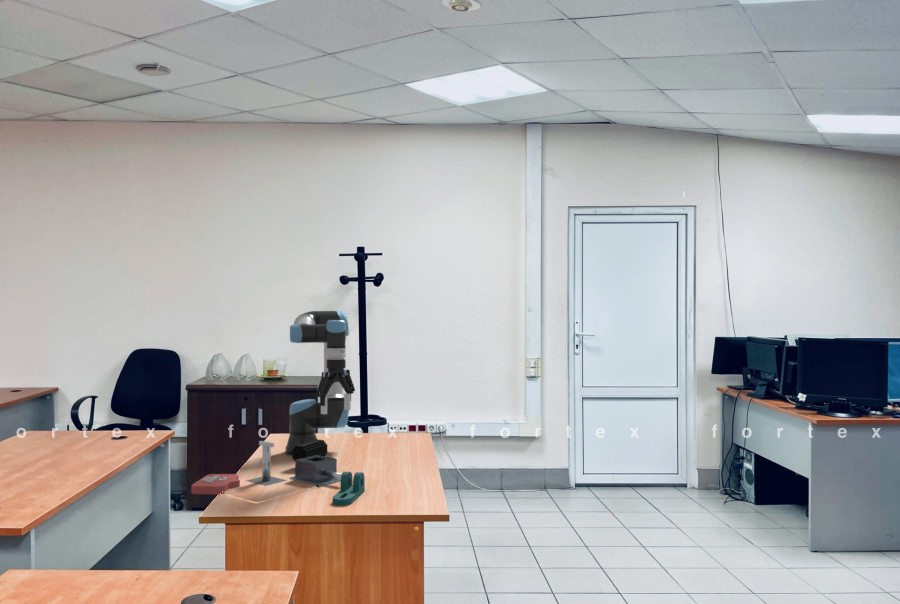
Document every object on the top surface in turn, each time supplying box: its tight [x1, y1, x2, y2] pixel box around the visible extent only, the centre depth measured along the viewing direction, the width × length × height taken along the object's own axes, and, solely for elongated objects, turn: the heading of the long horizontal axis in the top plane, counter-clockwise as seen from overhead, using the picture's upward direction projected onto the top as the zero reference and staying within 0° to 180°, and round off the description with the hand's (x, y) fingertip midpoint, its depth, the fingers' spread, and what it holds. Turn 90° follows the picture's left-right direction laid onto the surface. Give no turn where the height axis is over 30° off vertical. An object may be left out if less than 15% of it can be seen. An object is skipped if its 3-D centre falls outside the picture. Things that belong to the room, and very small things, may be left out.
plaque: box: [190, 473, 241, 495], centre depth 256 cm, size 18×4×15 cm
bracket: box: [332, 471, 366, 507], centre depth 243 cm, size 18×7×8 cm, turn 171°
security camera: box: [291, 438, 328, 462], centre depth 290 cm, size 7×18×10 cm, turn 155°
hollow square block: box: [289, 455, 342, 488], centre depth 265 cm, size 22×12×8 cm, turn 54°
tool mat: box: [245, 476, 288, 487], centre depth 264 cm, size 12×10×1 cm
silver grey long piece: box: [258, 440, 275, 481], centre depth 264 cm, size 7×3×14 cm, turn 54°
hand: (335, 411), depth 280 cm, fingers open, 13 cm apart
